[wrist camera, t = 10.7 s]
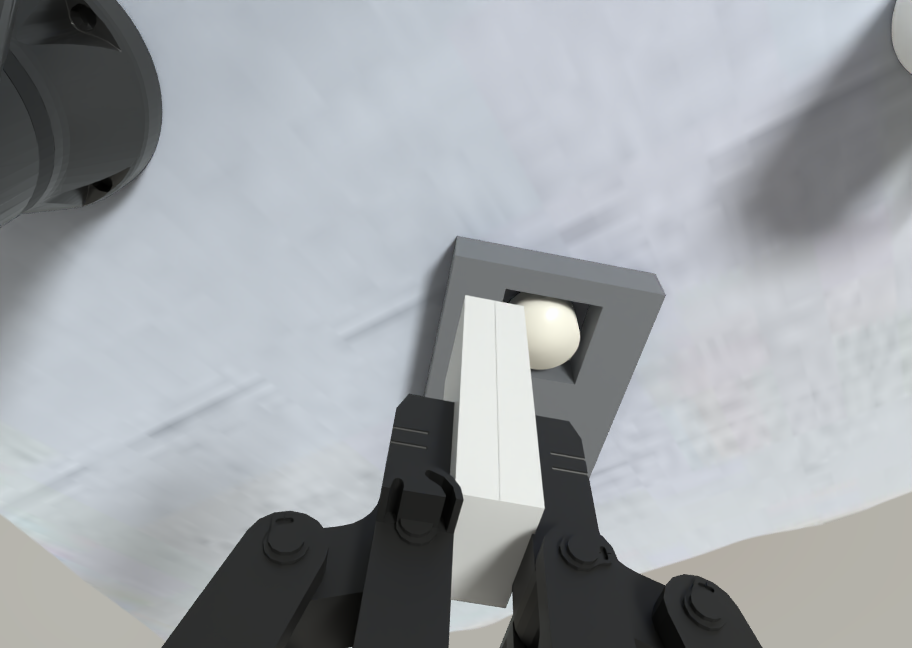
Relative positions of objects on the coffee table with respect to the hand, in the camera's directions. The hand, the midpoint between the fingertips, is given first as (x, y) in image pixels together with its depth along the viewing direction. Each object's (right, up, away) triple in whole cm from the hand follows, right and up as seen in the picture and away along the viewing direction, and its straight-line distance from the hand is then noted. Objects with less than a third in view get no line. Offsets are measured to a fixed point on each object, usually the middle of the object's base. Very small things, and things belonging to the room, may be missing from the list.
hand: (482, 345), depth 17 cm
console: (+3, -7, +35) cm, 36 cm away
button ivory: (+5, +1, +30) cm, 30 cm away
